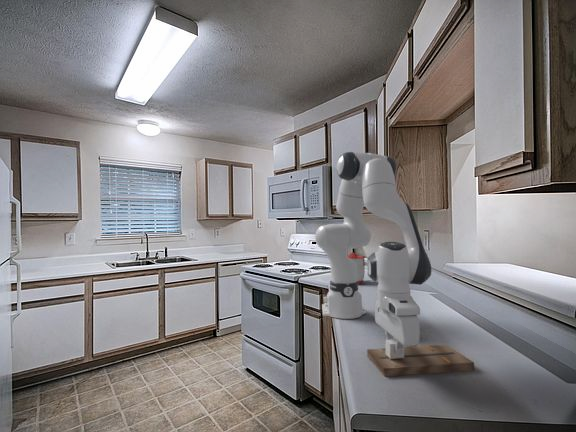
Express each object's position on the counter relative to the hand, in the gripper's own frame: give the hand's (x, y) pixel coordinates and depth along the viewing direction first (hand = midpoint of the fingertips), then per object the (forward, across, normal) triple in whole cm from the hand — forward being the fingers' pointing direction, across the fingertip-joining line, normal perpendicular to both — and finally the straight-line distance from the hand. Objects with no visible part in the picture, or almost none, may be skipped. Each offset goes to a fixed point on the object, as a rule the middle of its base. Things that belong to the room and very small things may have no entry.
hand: (394, 350), depth 86 cm
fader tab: (+2, 0, 0) cm, 2 cm away
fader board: (+4, 0, +7) cm, 8 cm away
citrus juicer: (+4, -111, +25) cm, 114 cm away
